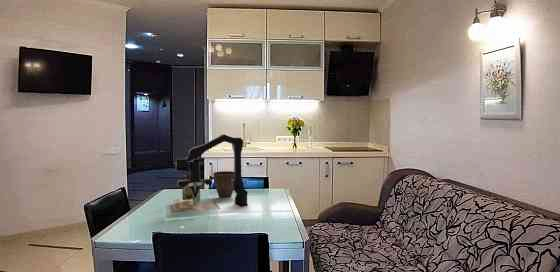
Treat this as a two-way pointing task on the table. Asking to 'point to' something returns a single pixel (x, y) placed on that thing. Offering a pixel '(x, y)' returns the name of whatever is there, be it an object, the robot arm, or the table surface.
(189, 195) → the coffee box
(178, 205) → the t block
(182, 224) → the table surface
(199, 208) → the board
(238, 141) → the robot arm
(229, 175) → the plant pot
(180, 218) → the table surface
